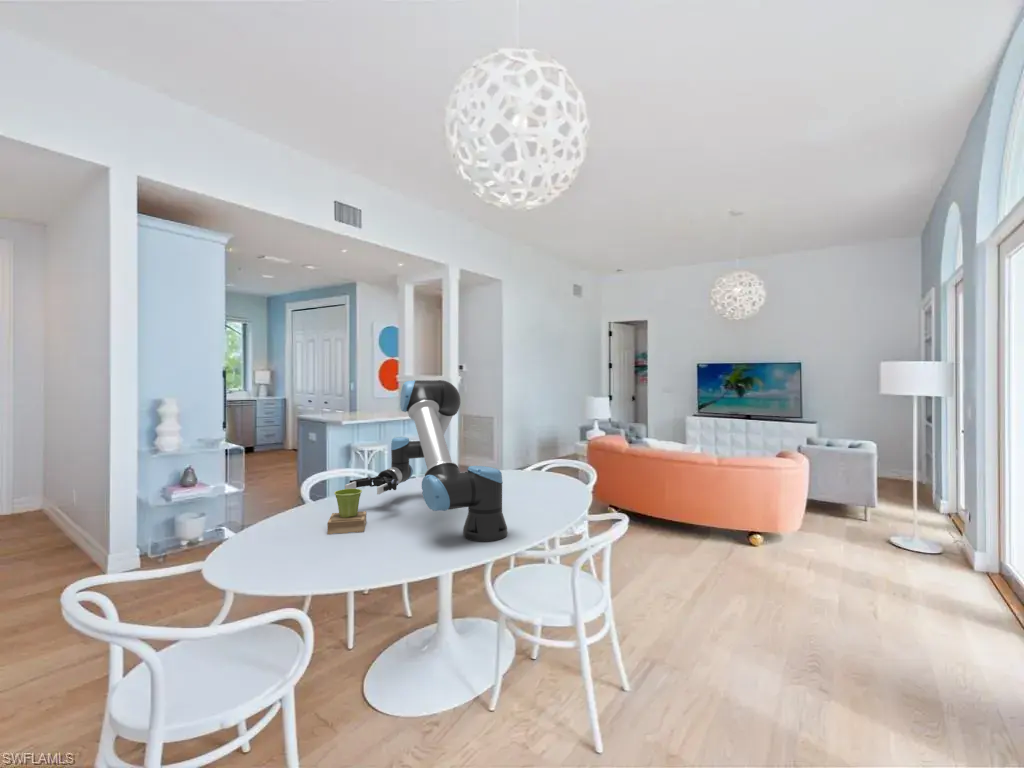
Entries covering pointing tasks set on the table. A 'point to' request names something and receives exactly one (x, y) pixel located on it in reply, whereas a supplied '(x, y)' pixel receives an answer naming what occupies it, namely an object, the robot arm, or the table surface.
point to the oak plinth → (347, 523)
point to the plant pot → (348, 502)
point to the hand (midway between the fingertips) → (361, 489)
